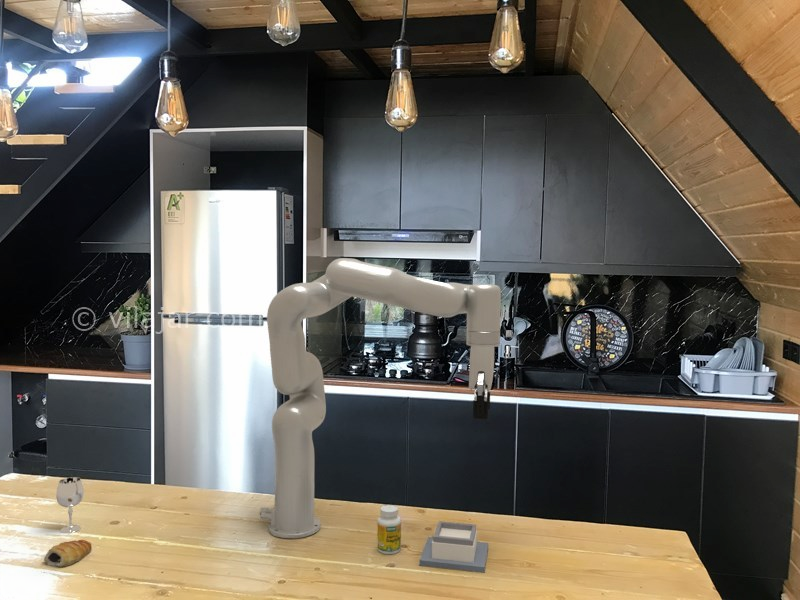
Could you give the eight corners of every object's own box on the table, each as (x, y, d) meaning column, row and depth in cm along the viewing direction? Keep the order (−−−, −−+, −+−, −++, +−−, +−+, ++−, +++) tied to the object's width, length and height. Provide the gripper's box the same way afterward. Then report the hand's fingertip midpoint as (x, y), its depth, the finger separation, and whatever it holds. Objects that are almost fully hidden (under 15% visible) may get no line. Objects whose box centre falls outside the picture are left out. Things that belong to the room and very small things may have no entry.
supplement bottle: (392, 542, 147) (393, 502, 146) (405, 551, 142) (406, 509, 142) (372, 548, 144) (373, 506, 143) (385, 557, 139) (385, 514, 139)
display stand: (419, 565, 135) (419, 538, 135) (427, 541, 147) (428, 517, 147) (484, 572, 133) (485, 545, 132) (488, 547, 144) (488, 522, 144)
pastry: (76, 546, 143) (76, 530, 143) (100, 551, 141) (100, 535, 140) (41, 565, 134) (40, 547, 134) (65, 570, 132) (65, 553, 131)
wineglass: (82, 532, 150) (82, 483, 149) (55, 535, 148) (54, 485, 147) (85, 523, 155) (84, 475, 154) (58, 526, 153) (57, 477, 152)
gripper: (469, 334, 151) (468, 404, 152) (463, 342, 134) (461, 421, 135) (501, 335, 150) (499, 406, 151) (498, 343, 133) (497, 423, 134)
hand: (481, 413), depth 143 cm, fingers open, 9 cm apart
